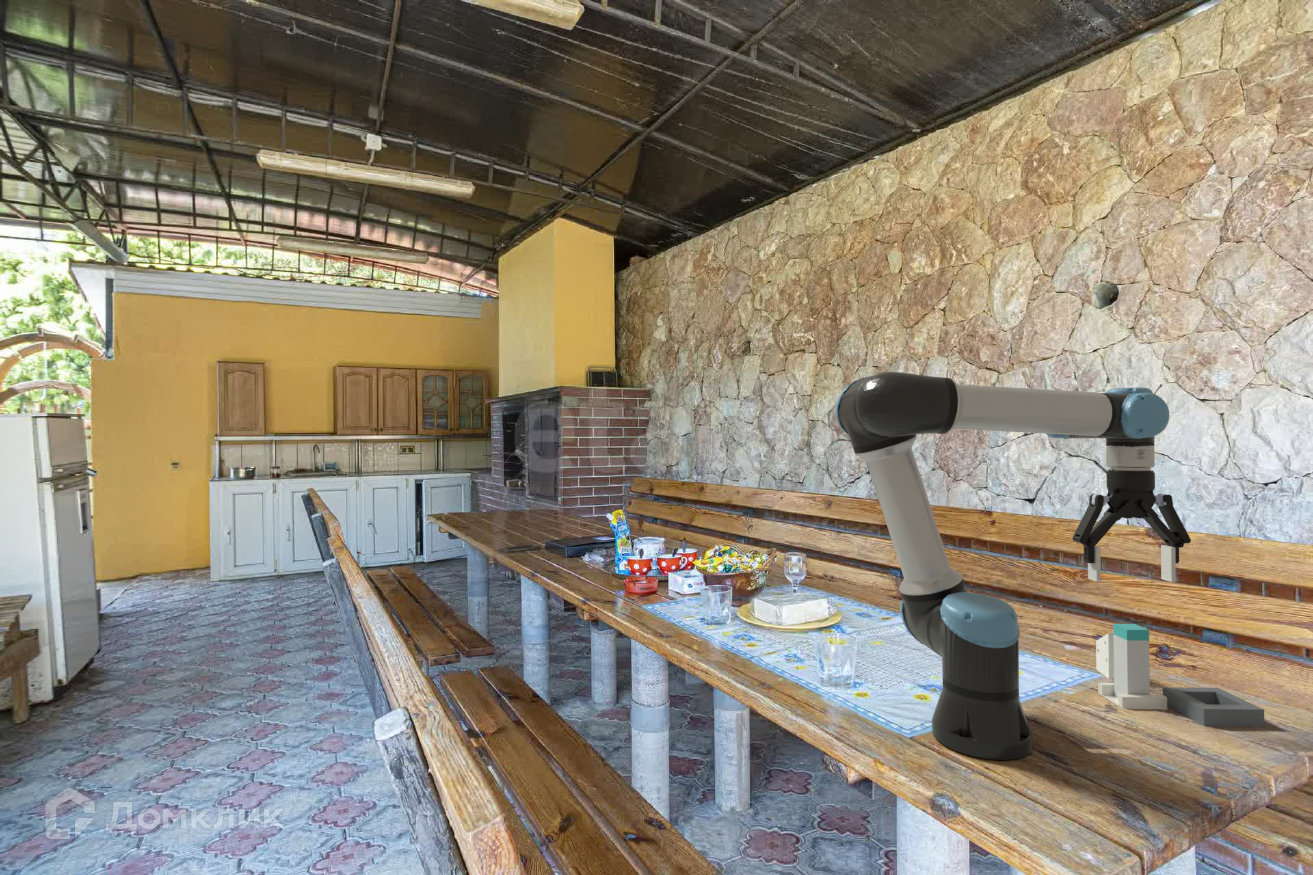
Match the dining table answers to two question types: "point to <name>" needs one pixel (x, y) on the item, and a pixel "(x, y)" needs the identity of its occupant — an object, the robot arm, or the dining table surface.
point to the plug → (1131, 660)
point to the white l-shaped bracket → (1105, 656)
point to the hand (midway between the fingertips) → (1131, 580)
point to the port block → (1213, 707)
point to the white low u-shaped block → (1132, 699)
